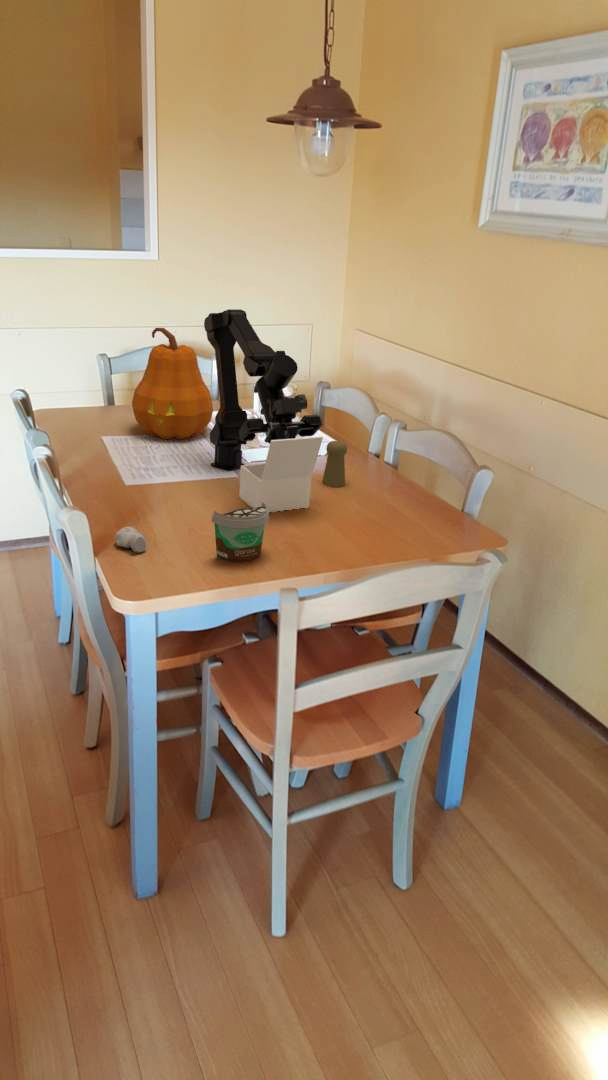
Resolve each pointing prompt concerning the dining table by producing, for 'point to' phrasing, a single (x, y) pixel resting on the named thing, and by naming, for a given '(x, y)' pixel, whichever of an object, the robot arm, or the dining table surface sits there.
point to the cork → (335, 464)
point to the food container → (240, 534)
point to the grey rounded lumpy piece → (131, 539)
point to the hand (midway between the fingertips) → (290, 461)
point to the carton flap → (291, 458)
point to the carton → (273, 490)
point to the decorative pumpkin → (172, 392)
